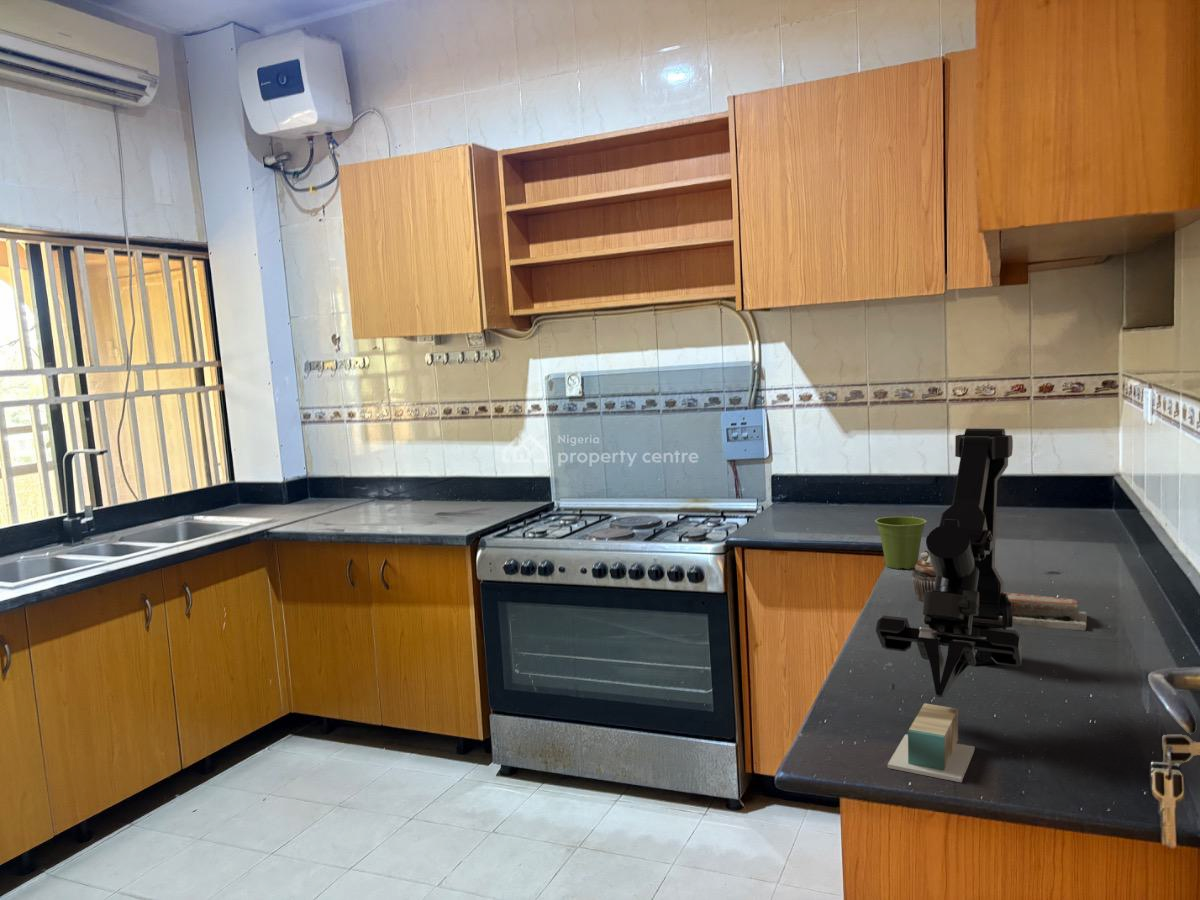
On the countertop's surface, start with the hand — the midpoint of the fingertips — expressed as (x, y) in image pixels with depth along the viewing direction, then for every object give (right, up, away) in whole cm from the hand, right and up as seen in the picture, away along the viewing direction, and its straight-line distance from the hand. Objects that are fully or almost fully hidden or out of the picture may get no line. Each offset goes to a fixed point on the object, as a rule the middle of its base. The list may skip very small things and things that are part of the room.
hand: (939, 696), depth 122 cm
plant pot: (+27, +5, +96) cm, 99 cm away
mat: (-2, -7, -3) cm, 8 cm away
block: (+1, -4, +2) cm, 4 cm away
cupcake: (+25, +2, +68) cm, 72 cm away
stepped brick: (+38, 0, +52) cm, 64 cm away
